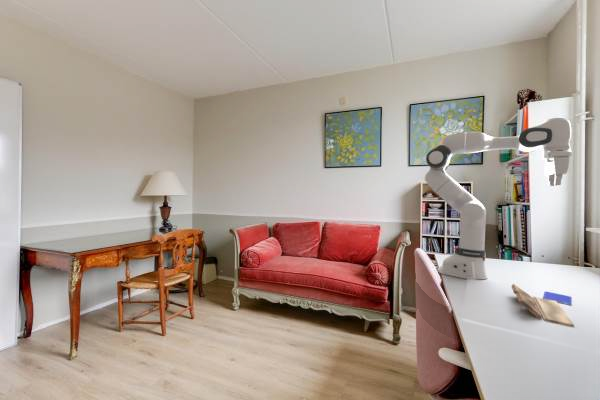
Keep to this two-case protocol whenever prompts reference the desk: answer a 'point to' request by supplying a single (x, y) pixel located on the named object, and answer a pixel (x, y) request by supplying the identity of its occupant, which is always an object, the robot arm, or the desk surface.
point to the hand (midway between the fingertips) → (554, 185)
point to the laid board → (552, 311)
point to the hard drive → (558, 298)
